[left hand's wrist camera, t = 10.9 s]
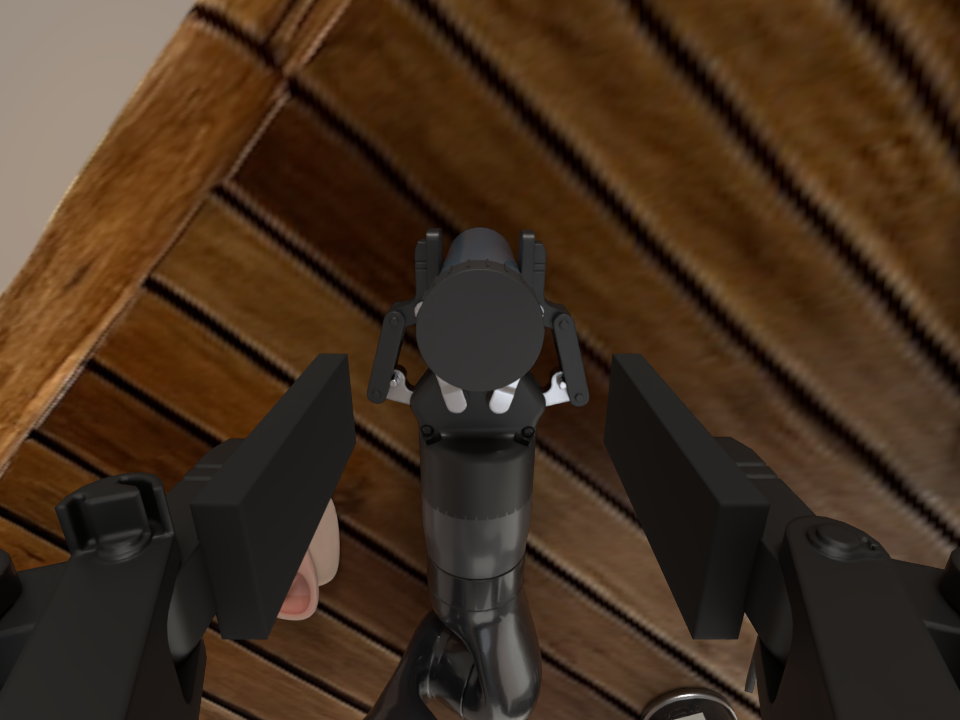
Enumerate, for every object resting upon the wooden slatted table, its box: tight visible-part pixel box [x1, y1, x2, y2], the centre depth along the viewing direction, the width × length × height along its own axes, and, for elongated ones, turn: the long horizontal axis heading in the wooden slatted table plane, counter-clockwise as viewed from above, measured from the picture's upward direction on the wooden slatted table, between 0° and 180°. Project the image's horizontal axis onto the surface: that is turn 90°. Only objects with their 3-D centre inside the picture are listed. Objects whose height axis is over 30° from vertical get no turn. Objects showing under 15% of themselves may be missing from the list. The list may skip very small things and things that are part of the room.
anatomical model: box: [277, 499, 340, 620], centre depth 41 cm, size 13×4×12 cm
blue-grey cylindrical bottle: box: [439, 228, 520, 276], centre depth 28 cm, size 5×5×16 cm
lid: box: [416, 258, 545, 392], centre depth 21 cm, size 5×5×2 cm
